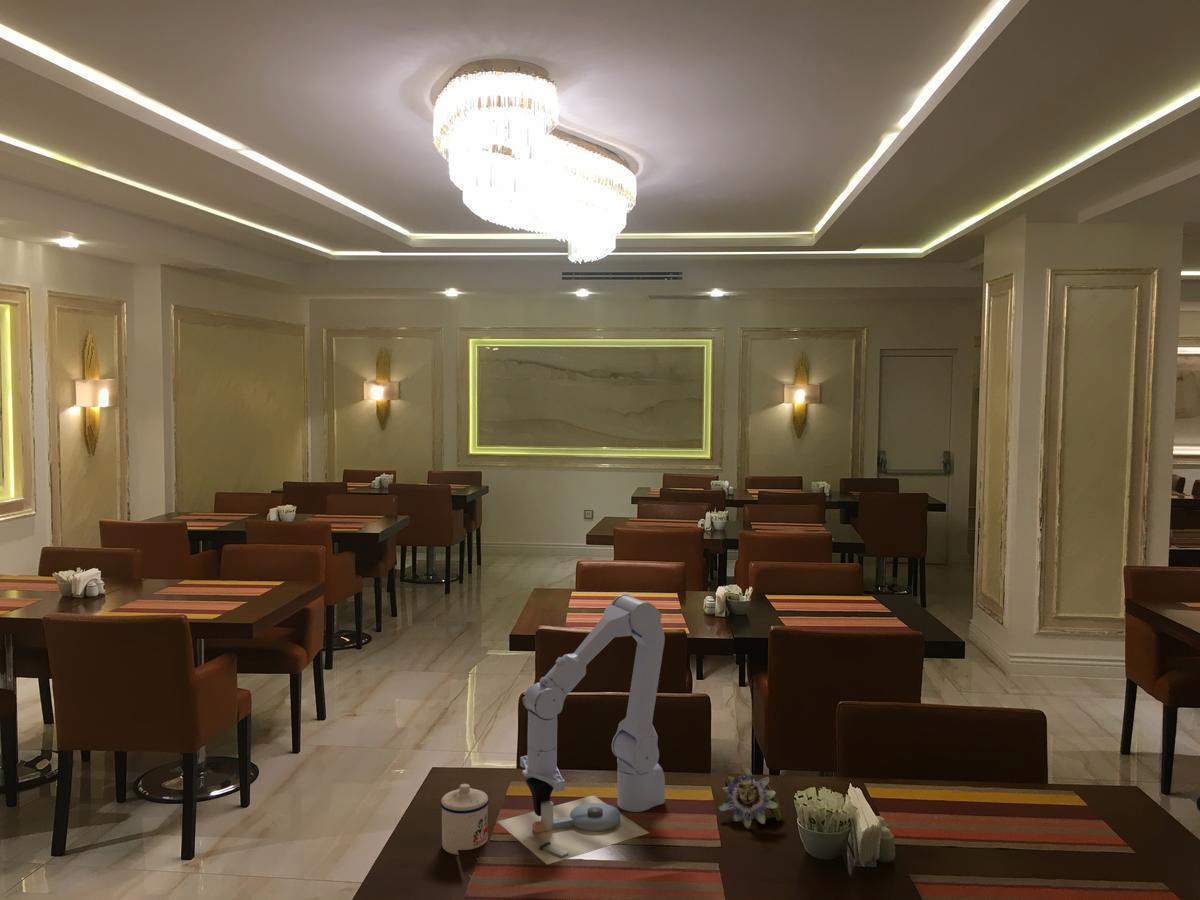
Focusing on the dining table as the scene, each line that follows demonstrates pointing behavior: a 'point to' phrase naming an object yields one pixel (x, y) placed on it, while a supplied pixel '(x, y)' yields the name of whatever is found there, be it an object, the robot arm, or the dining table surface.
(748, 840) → the dining table surface
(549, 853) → the cream flat board
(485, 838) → the teacup with lid
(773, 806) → the passion flower
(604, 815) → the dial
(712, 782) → the dining table surface
